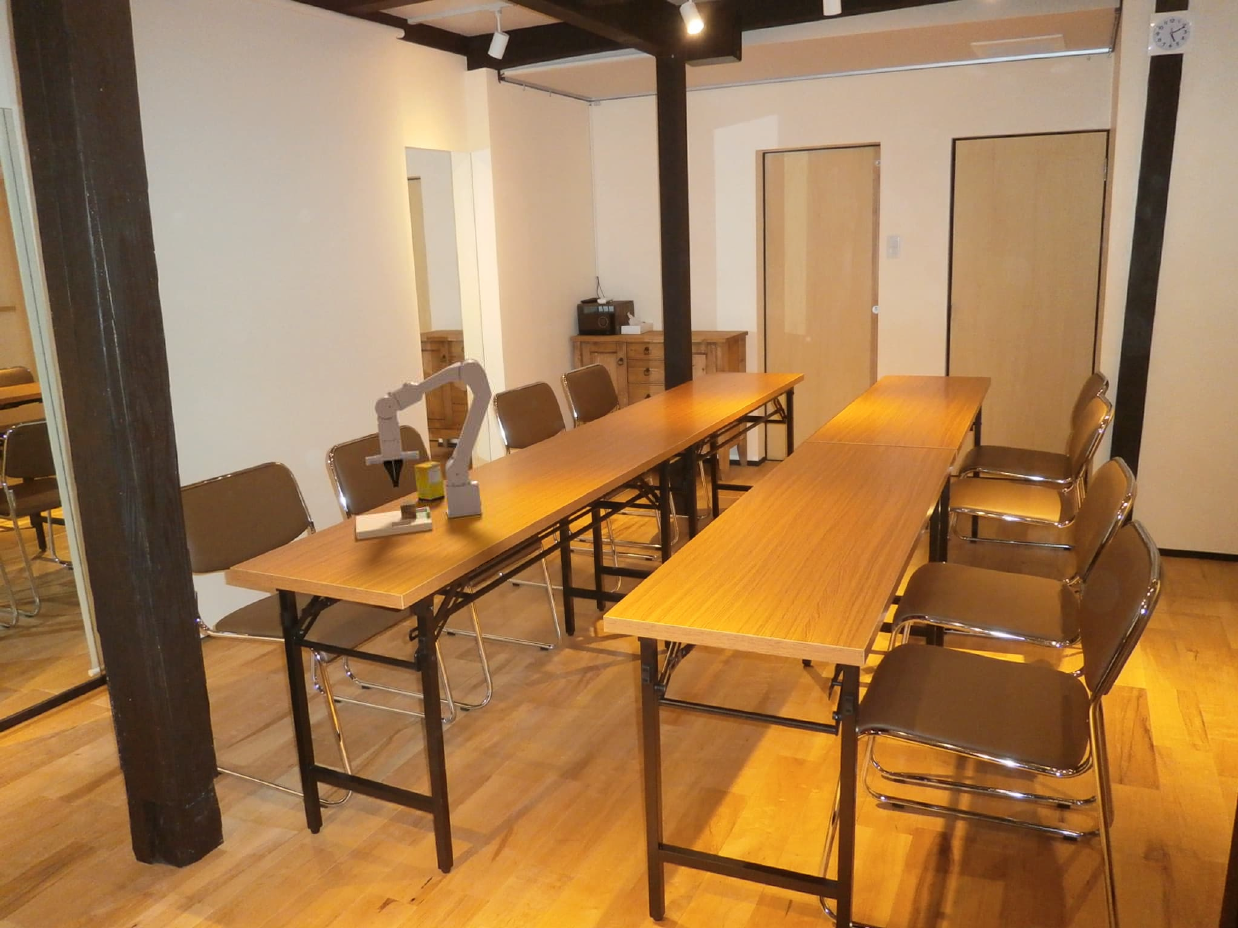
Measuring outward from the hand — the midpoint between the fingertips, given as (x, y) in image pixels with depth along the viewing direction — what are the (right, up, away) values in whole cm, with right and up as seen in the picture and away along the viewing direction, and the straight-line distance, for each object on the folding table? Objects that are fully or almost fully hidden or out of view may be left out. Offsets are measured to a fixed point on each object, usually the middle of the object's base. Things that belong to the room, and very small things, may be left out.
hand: (396, 486), depth 273 cm
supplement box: (+5, -4, +24) cm, 25 cm away
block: (+4, -8, -3) cm, 10 cm away
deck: (0, -11, -3) cm, 11 cm away
